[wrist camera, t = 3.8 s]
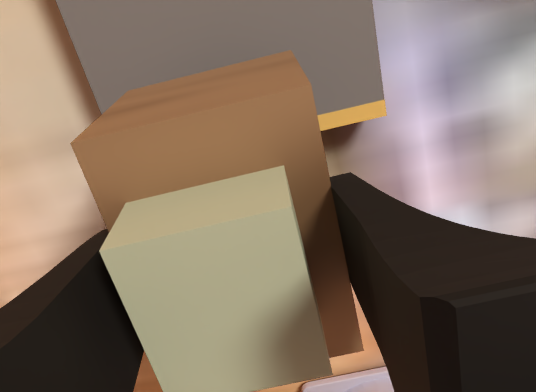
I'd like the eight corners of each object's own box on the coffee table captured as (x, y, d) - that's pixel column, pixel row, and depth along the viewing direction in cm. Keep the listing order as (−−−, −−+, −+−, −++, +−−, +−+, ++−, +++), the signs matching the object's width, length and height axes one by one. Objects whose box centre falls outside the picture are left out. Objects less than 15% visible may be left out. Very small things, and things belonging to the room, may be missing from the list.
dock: (373, 100, 19) (386, 115, 17) (137, 157, 20) (126, 176, 18) (336, -167, 15) (349, -185, 13) (43, -86, 16) (18, -93, 14)
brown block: (332, 250, 17) (363, 350, 12) (196, 279, 17) (177, 389, 13) (291, 49, 14) (310, 84, 9) (127, 90, 14) (70, 143, 10)
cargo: (319, 313, 12) (332, 375, 10) (182, 342, 12) (170, 408, 10) (284, 165, 10) (291, 206, 8) (125, 202, 10) (99, 251, 8)
